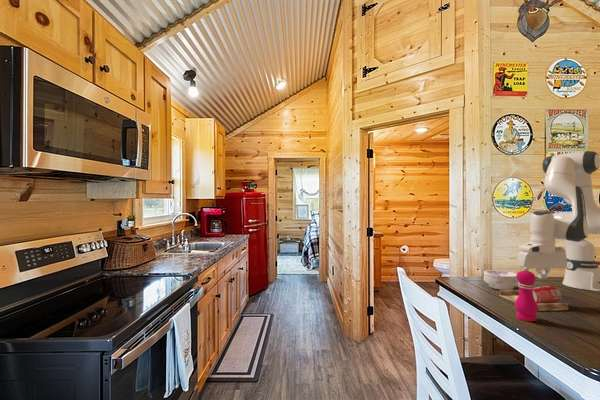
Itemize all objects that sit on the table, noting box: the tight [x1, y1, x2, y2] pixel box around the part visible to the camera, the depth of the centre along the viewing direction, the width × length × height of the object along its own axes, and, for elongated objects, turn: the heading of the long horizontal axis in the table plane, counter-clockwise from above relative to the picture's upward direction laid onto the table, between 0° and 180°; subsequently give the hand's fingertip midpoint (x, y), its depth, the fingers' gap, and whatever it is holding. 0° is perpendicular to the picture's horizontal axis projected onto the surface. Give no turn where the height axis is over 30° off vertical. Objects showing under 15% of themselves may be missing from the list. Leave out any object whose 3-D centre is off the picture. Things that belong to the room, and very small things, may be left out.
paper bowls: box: [483, 269, 519, 291], centre depth 157 cm, size 15×15×8 cm
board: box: [498, 289, 569, 312], centre depth 135 cm, size 15×20×2 cm
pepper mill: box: [514, 267, 539, 323], centre depth 116 cm, size 7×7×20 cm
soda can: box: [533, 285, 562, 304], centre depth 132 cm, size 7×7×13 cm
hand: (542, 278), depth 135 cm, fingers closed
